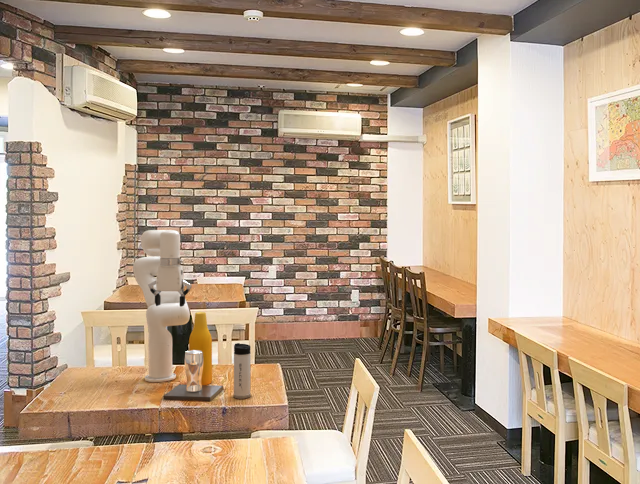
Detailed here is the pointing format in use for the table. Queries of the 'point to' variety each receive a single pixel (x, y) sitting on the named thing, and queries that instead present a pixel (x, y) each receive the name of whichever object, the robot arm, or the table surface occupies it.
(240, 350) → the travel mug
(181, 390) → the serving board
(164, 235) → the robot arm
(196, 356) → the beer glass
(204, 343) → the beer bottle
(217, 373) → the table surface
